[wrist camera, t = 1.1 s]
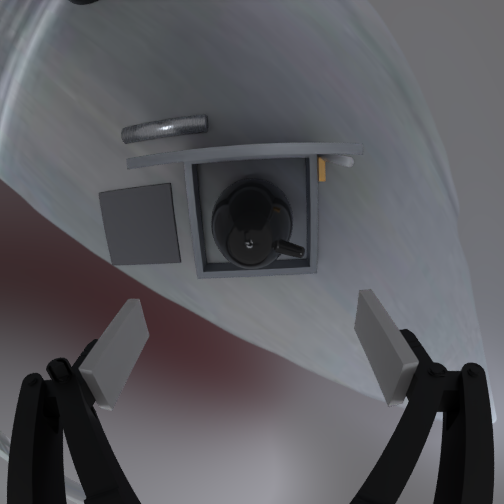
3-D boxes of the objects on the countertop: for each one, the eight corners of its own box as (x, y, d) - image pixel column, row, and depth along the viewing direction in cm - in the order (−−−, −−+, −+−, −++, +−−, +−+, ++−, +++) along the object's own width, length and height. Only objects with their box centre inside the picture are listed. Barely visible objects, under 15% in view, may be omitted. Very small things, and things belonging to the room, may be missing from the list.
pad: (99, 192, 40) (98, 193, 40) (170, 183, 39) (169, 183, 39) (113, 264, 44) (112, 265, 44) (180, 261, 44) (180, 262, 43)
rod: (121, 141, 35) (121, 125, 35) (128, 145, 37) (128, 129, 37) (205, 128, 35) (204, 111, 34) (208, 133, 37) (207, 117, 37)
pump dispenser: (283, 251, 43) (294, 305, 29) (212, 239, 42) (190, 288, 28) (297, 183, 39) (319, 205, 25) (222, 170, 39) (201, 184, 25)
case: (188, 150, 38) (126, 158, 19) (321, 143, 37) (378, 144, 18) (201, 269, 44) (165, 356, 25) (321, 264, 43) (361, 348, 25)
